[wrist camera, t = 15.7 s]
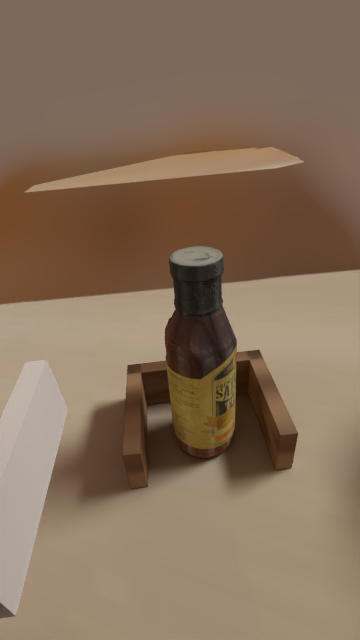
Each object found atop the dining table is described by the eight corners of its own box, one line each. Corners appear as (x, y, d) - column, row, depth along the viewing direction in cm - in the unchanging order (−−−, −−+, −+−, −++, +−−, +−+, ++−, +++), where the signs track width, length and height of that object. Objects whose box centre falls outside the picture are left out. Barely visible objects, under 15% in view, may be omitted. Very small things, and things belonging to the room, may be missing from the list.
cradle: (291, 467, 31) (298, 433, 28) (131, 488, 31) (122, 455, 28) (256, 381, 41) (259, 349, 38) (134, 396, 40) (127, 365, 38)
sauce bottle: (230, 467, 32) (232, 279, 21) (167, 455, 33) (139, 274, 22) (238, 414, 37) (243, 241, 26) (183, 405, 39) (167, 239, 28)
